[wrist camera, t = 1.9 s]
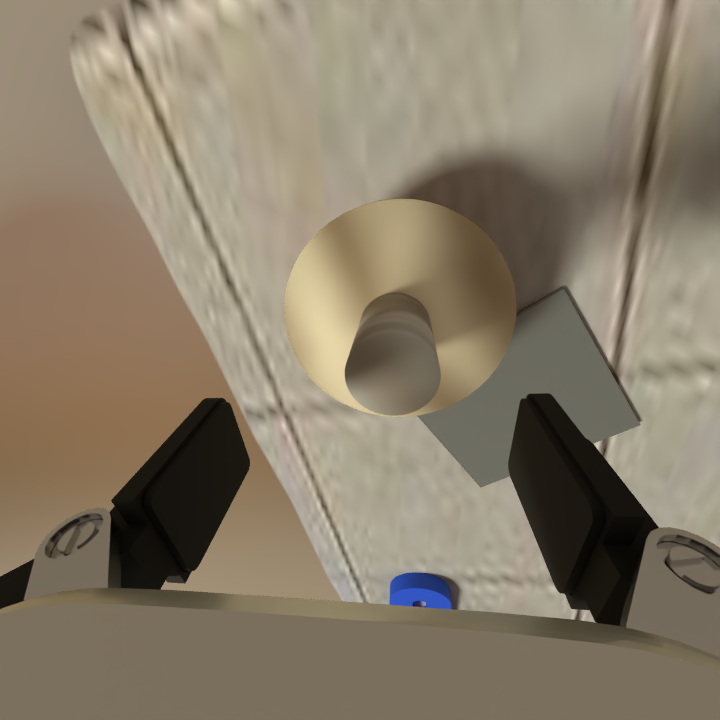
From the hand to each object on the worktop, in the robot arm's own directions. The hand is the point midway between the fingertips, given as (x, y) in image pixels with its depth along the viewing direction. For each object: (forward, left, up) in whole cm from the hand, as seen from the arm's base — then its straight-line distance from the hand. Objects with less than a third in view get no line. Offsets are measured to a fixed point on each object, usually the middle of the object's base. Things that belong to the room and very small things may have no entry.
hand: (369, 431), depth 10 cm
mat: (-3, +15, -16) cm, 22 cm away
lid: (-1, 0, -10) cm, 10 cm away
